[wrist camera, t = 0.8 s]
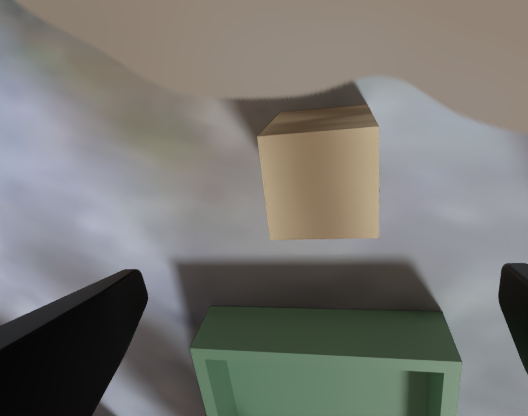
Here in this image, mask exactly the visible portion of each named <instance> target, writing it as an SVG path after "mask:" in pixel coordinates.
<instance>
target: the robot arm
mask: <svg viewBox="0 0 528 416" xmlns="http://www.w3.org/2000/svg"><path fill="white" fill-rule="evenodd" d="M498 298H499V304H500V307H501V310H502V312H503V315H504V317H505V320H506V322H507V325H508V328H509V330H510V333H511V335H512V338H513V341H514V343H515V346H516V348H517V351H518V354H519V356H520V359H521V361H522V363H523V366H524V368H525V370H526V372H527V374H528V264H526V263H507V264H504V265H503V267H502V270H501V278H500V286H499V294H498ZM147 301H148V293H147V290H146V286H145V283H144V280H143V276H142V274H141V272H140V271H139V270H138V269H125V270H122V271H120V272H118V273H115V274H113V275H111V276H109V277H107V278H104V279H102V280H100V281H98V282H96V283H93V284H91V285H89V286H87V287H85V288H82V289H80V290H78V291H76V292H74V293H71V294H69V295H67V296H65V297H63V298H60V299H58V300H56V301H54V302H52V303H49V304H47V305H45V306H43V307H41V308H38V309H36V310H34V311H32V312H30V313H27V314H25V315H23V316H21V317H19V318H16V319H14V320H12V321H10V322H8V323H5V324H3V325H1V326H0V416H92V415H93V413H94V411H95V409H96V407H97V405H98V404H99V402H100V400H101V398H102V396H103V394H104V392H105V391H106V389H107V387H108V385H109V383H110V381H111V380H112V378H113V376H114V374H115V372H116V370H117V368H118V367H119V365H120V363H121V361H122V359H123V357H124V355H125V353H126V351H127V349H128V347H129V345H130V343H131V340H132V338H133V335H134V333H135V331H136V328H137V326H138V324H139V321H140V319H141V316H142V314H143V312H144V309H145V307H146V305H147Z"/></svg>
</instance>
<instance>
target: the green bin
mask: <svg viewBox="0 0 528 416" xmlns="http://www.w3.org/2000/svg"><path fill="white" fill-rule="evenodd" d="M190 352H191V356H192V360H193V364H194V368H195V371H196V375H197V379H198V383H199V387H200V391H201V395H202V399H203V403H204V407H205V411H206V415H207V416H456V414H457V405H458V396H459V387H460V378H461V369H462V360H461V358H460V355H459V353H458V350H457V348H456V345H455V343H454V340H453V337H452V335H451V332H450V330H449V327H448V325H447V322H446V320H445V317H444V315H443V312H442V311H399V310H355V309H311V308H268V307H224V306H211V307H210V309H209V311H208V313H207V315H206V317H205V319H204V321H203V323H202V325H201V327H200V329H199V331H198V333H197V335H196V337H195V339H194V341H193V343H192V345H191V347H190Z"/></svg>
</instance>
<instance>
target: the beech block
mask: <svg viewBox="0 0 528 416" xmlns="http://www.w3.org/2000/svg"><path fill="white" fill-rule="evenodd" d="M257 140H258V147H259V155H260V163H261V171H262V179H263V187H264V194H265V202H266V210H267V218H268V226H269V233H270V240H294V239H346V238H379V126H378V124H377V122H376V120H375V118H374V116H373V114H372V112H371V110H370V108H369V107H368V105H367V104H364V105H353V106H343V107H333V108H323V109H312V110H302V111H292V112H281V113H279V114H278V115H277V116H276V117H275V118H274V119H273V120H272V121H271V122H270V124H269V125H268V126H267V127H266V128H265V129H264V130H263V131H262V132H261V133H260V134H259V135H258V136H257Z"/></svg>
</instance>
